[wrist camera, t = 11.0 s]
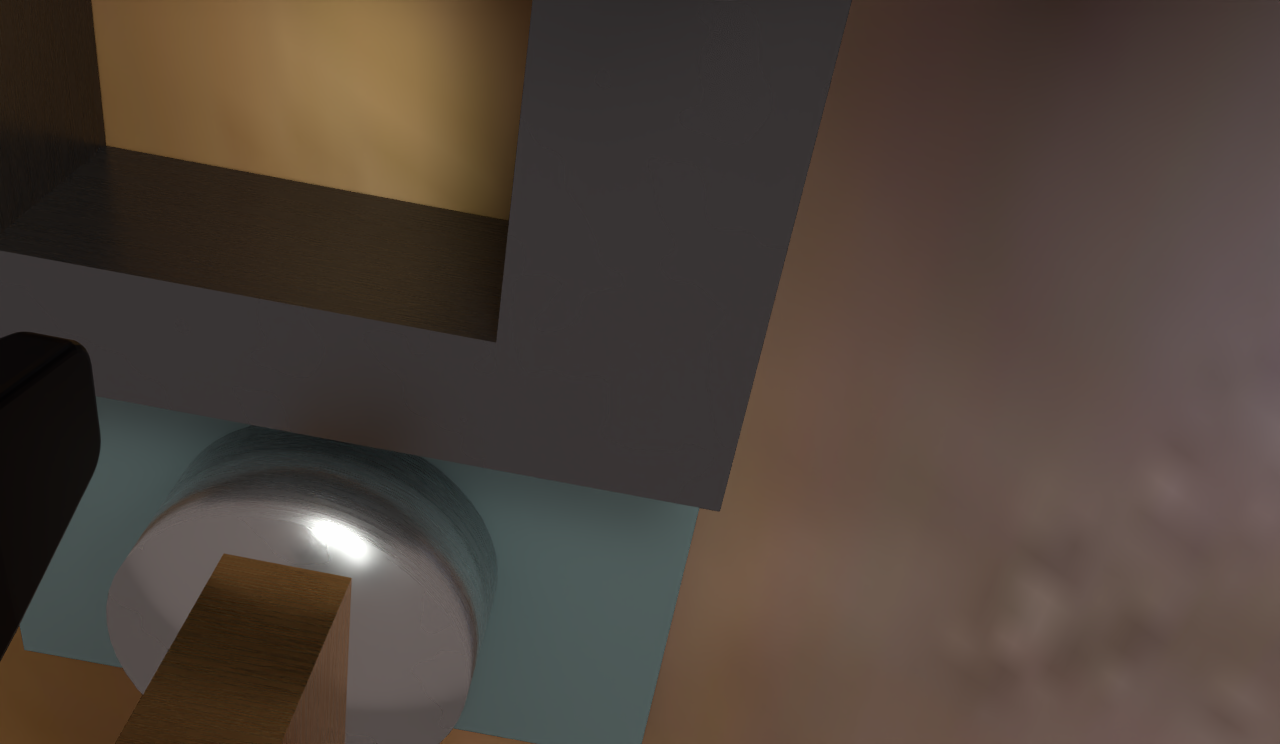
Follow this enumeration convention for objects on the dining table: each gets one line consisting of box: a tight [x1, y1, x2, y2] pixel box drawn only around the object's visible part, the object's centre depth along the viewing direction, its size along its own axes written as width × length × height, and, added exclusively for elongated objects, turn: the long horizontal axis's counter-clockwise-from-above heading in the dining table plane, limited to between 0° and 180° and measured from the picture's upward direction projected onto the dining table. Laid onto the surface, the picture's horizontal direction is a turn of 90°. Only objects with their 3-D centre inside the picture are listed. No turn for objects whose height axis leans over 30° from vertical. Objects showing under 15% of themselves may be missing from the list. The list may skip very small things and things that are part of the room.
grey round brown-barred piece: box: [106, 425, 498, 744], centre depth 22 cm, size 7×7×9 cm
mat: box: [20, 396, 699, 744], centre depth 26 cm, size 15×10×1 cm, turn 81°
